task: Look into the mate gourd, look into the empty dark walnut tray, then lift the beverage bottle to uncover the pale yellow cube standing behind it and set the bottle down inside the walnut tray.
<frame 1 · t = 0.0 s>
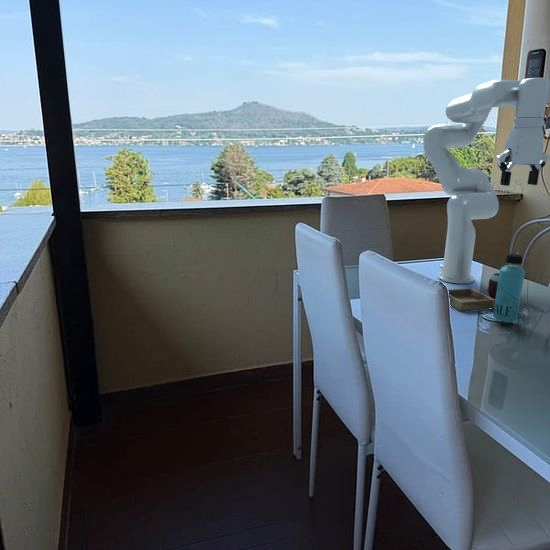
hand: (518, 184, 138), 37 cm above the table, tool pointing down, fingers open, 9 cm apart
beverage bottle: (503, 323, 131), on the table
mate gourd: (499, 299, 150), on the table
pale yellow cube: (505, 312, 139), on the table
tray: (465, 304, 145), on the table
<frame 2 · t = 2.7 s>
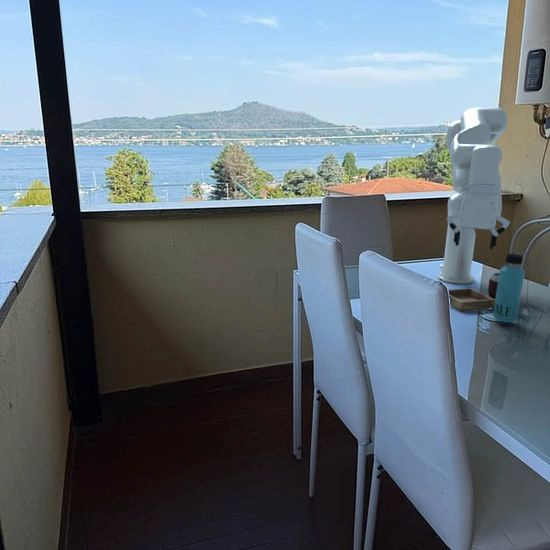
hand: (473, 246, 139), 19 cm above the table, tool pointing down, fingers open, 9 cm apart
nothing on the table moved.
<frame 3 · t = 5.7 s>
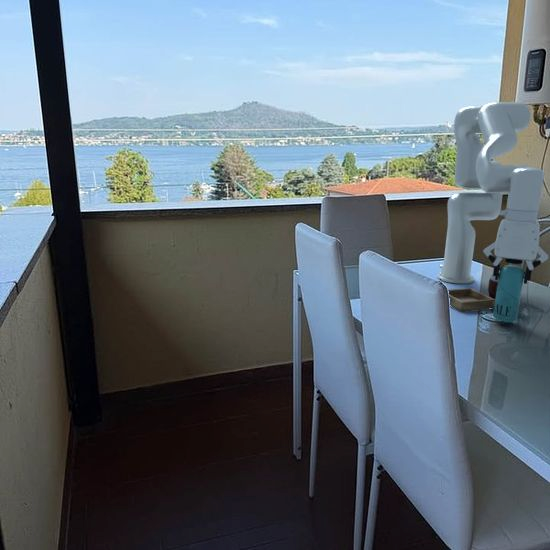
hand: (510, 280, 127), 13 cm above the table, tool pointing down, fingers closed on beverage bottle, 6 cm apart
beverage bottle: (503, 323, 131), on the table, touching gripper
everything else where it was.
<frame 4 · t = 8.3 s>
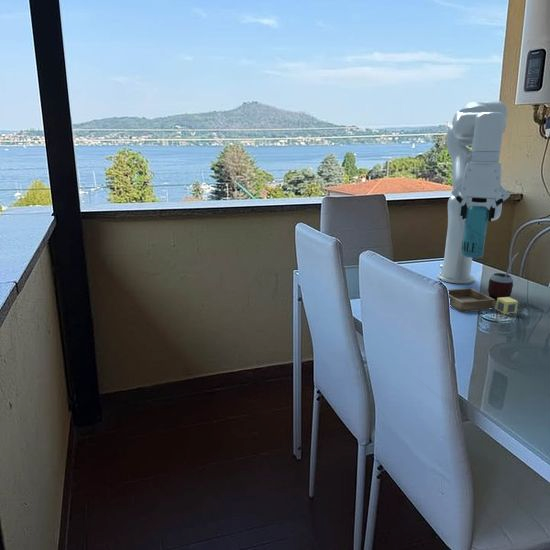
hand: (476, 219, 137), 27 cm above the table, tool pointing down, fingers closed on beverage bottle, 6 cm apart
beverage bottle: (471, 260, 141), point 14 cm above the table, touching gripper
everything else where it was.
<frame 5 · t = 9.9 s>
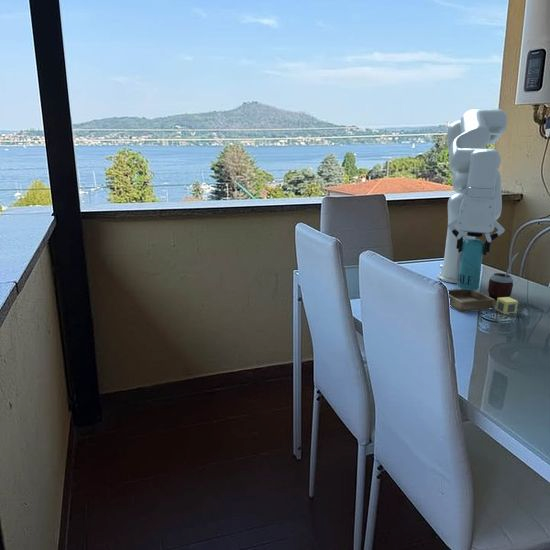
hand: (472, 252, 140), 17 cm above the table, tool pointing down, fingers closed on beverage bottle, 6 cm apart
beverage bottle: (467, 292, 144), point 4 cm above the table, touching gripper
everything else where it was.
when the fingers open (14 cm above the table, at t = 10.9 s): beverage bottle drops 1 cm, resting on tray.
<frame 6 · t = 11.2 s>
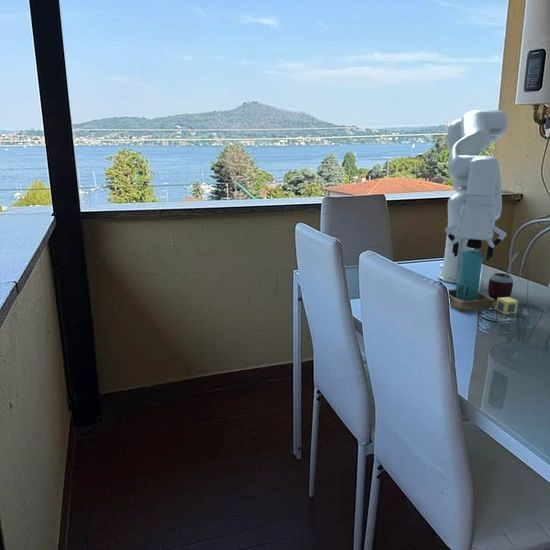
hand: (471, 257, 141), 15 cm above the table, tool pointing down, fingers open, 8 cm apart
beverage bottle: (465, 302, 145), resting on tray
everything else where it was.
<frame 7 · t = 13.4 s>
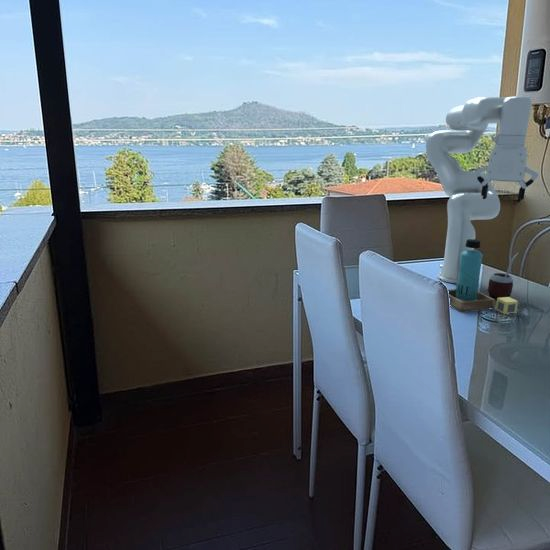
hand: (501, 199, 141), 32 cm above the table, tool pointing down, fingers open, 9 cm apart
nothing on the table moved.
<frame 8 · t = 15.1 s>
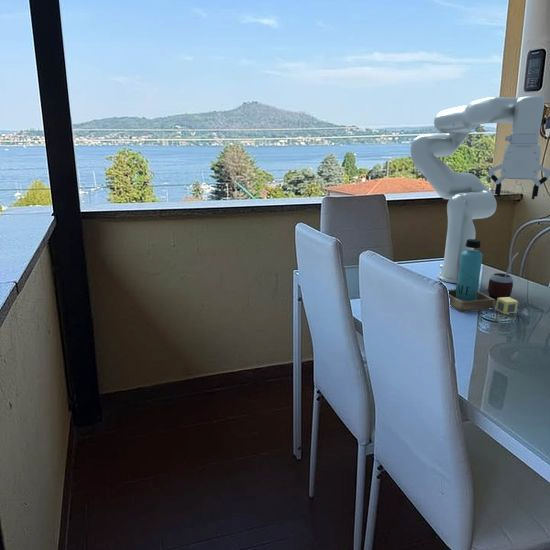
hand: (515, 197, 143), 32 cm above the table, tool pointing down, fingers open, 9 cm apart
nothing on the table moved.
at the end: beverage bottle inside the target area on the tray (0.2 cm from its centre), point 0.4 cm above the tray's base; beverage bottle tilted 0°; the gripper is holding nothing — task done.
